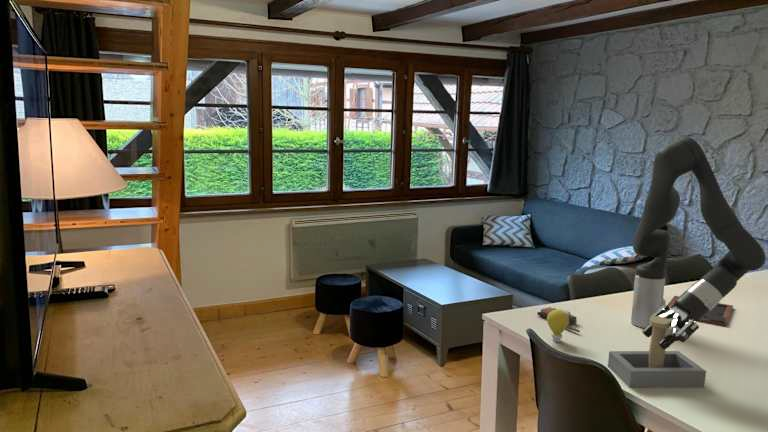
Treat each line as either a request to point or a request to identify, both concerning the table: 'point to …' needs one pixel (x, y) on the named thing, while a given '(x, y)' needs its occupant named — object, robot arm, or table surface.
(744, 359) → the table surface
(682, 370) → the gray rectangular tray
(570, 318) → the walkie-talkie
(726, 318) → the picture frame
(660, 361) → the handle
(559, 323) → the light bulb
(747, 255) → the robot arm
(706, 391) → the table surface
